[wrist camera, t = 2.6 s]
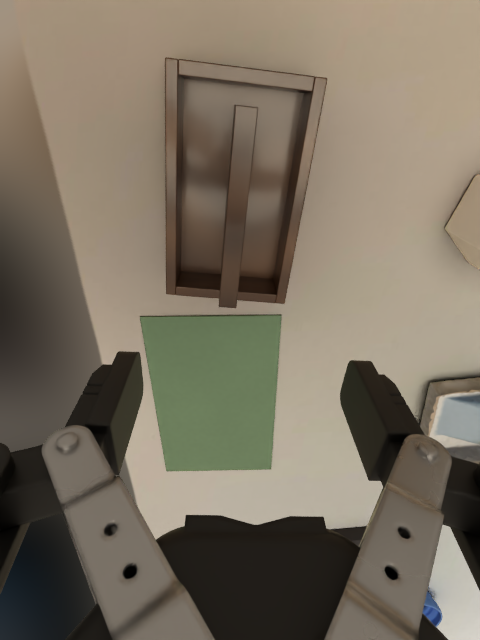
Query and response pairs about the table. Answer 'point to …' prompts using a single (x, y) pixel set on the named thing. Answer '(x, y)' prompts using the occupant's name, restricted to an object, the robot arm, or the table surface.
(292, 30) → the table surface
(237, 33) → the table surface
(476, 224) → the jar
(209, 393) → the mat
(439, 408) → the picture frame
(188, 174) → the cutlery caddy
